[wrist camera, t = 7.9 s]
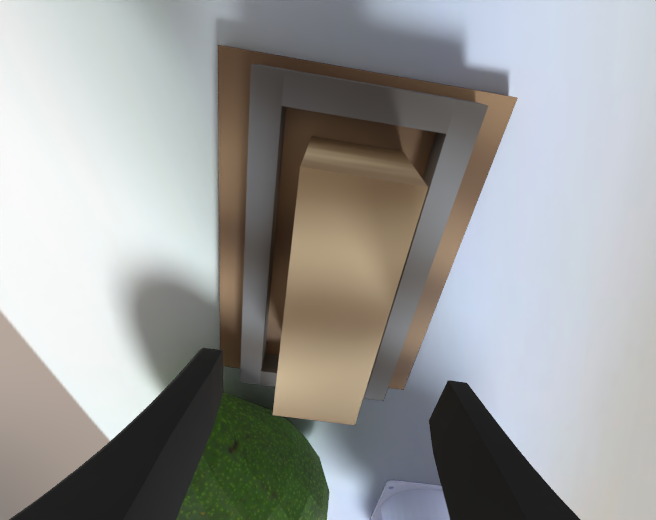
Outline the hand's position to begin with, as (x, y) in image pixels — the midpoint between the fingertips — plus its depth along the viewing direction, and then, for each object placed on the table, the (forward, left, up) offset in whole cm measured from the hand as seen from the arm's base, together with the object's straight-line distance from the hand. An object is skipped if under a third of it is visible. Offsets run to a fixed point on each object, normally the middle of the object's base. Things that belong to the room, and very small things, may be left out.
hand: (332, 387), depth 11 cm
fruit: (-15, +4, -9) cm, 18 cm away
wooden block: (0, 0, -8) cm, 8 cm away
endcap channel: (0, 0, -9) cm, 9 cm away
